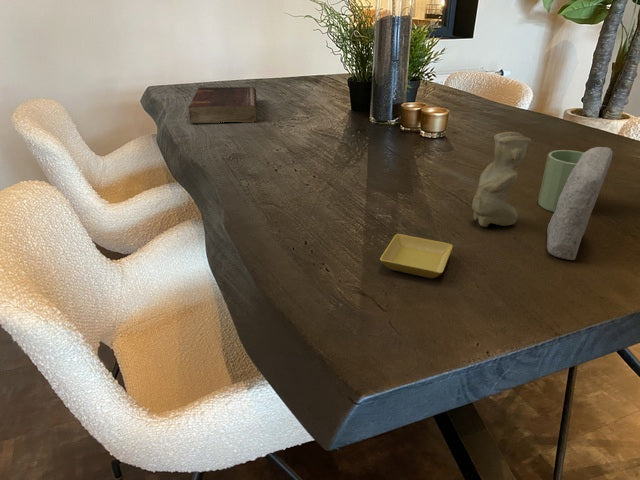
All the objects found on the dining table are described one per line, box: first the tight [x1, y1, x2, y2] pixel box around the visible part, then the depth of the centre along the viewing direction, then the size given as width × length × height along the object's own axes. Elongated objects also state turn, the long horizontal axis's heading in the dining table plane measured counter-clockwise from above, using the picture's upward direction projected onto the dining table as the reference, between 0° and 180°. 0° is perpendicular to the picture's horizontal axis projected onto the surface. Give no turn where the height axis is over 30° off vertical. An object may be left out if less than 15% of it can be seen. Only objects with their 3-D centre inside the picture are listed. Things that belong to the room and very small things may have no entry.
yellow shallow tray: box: [379, 233, 454, 279], centre depth 69 cm, size 9×9×2 cm
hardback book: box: [188, 86, 258, 124], centre depth 151 cm, size 29×19×5 cm, turn 7°
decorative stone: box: [546, 146, 614, 261], centre depth 71 cm, size 11×6×15 cm, turn 150°
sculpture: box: [471, 131, 532, 228], centre depth 78 cm, size 6×7×15 cm
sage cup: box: [537, 149, 585, 213], centre depth 86 cm, size 8×8×9 cm
